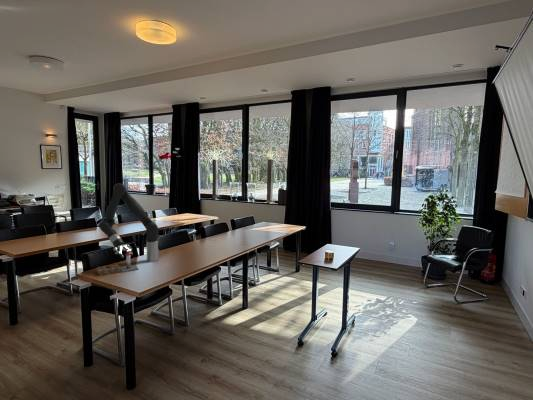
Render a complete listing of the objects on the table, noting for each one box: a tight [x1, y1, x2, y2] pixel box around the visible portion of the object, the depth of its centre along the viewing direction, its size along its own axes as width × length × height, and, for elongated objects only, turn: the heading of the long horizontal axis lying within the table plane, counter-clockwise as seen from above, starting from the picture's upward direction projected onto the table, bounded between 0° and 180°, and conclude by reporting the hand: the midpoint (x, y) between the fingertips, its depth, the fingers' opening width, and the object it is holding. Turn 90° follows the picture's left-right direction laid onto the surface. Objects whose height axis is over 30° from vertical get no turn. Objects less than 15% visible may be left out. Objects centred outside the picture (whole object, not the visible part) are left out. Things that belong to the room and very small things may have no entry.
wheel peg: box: [124, 251, 132, 269], centre depth 247 cm, size 4×4×12 cm
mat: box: [119, 264, 139, 273], centre depth 247 cm, size 12×12×1 cm
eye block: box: [96, 263, 121, 276], centre depth 240 cm, size 14×12×4 cm
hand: (127, 256), depth 247 cm, fingers open, 8 cm apart
